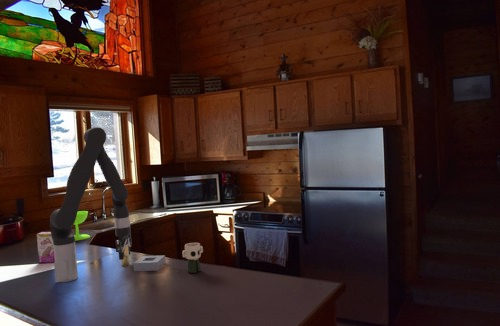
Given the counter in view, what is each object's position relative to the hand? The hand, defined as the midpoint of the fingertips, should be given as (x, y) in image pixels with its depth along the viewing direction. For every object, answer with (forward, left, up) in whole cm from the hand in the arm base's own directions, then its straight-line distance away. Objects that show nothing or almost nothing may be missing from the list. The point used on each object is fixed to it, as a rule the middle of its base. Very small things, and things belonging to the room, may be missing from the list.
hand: (125, 257), depth 205 cm
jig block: (-5, -15, -4) cm, 16 cm away
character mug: (-15, -40, -4) cm, 43 cm away
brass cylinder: (0, 0, -4) cm, 4 cm away
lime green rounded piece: (+71, +66, -4) cm, 97 cm away
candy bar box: (+12, +49, -4) cm, 51 cm away
